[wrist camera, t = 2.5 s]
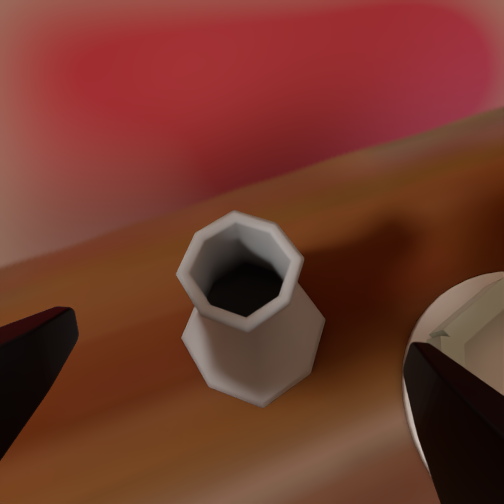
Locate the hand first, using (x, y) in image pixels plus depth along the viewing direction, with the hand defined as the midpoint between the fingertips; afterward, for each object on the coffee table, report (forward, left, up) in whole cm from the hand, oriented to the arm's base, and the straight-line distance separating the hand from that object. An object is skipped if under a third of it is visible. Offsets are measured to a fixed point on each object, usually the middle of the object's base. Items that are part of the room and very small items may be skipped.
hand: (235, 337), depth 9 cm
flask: (+1, -1, -9) cm, 9 cm away
